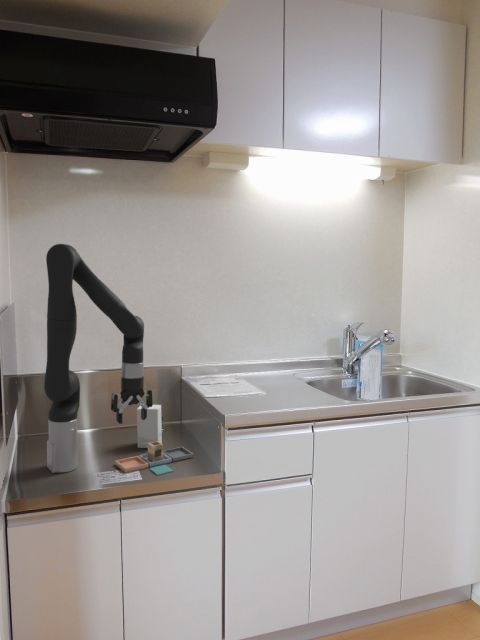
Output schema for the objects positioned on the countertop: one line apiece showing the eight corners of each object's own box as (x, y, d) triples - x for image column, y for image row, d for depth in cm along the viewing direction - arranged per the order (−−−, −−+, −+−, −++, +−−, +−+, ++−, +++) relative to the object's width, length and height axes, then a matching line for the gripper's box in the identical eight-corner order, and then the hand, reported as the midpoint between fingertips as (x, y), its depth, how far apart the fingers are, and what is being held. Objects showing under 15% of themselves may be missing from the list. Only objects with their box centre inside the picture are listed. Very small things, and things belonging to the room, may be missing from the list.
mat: (157, 475, 173) (157, 474, 173) (149, 469, 178) (149, 468, 178) (173, 471, 177) (173, 470, 177) (165, 465, 182) (165, 464, 182)
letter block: (152, 463, 183) (153, 446, 182) (147, 459, 186) (147, 442, 185) (163, 460, 185) (163, 444, 184) (157, 457, 188) (158, 440, 188)
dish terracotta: (125, 473, 174) (125, 468, 174) (115, 464, 181) (115, 460, 181) (148, 467, 179) (148, 463, 179) (137, 459, 186) (137, 455, 186)
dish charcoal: (172, 462, 185) (173, 458, 185) (161, 454, 192) (161, 450, 192) (193, 457, 190) (193, 453, 190) (182, 450, 197) (182, 446, 196)
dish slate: (149, 467, 180) (149, 463, 179) (139, 459, 186) (139, 455, 186) (171, 462, 185) (171, 458, 184) (160, 454, 191) (160, 451, 191)
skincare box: (162, 443, 203) (162, 404, 202) (157, 449, 197) (158, 409, 195) (141, 442, 204) (141, 403, 202) (136, 448, 198) (136, 408, 196)
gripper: (116, 379, 169) (116, 427, 171) (156, 375, 178) (155, 421, 180) (108, 374, 175) (107, 421, 177) (146, 370, 184) (146, 415, 186)
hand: (131, 421), depth 179 cm, fingers open, 8 cm apart
